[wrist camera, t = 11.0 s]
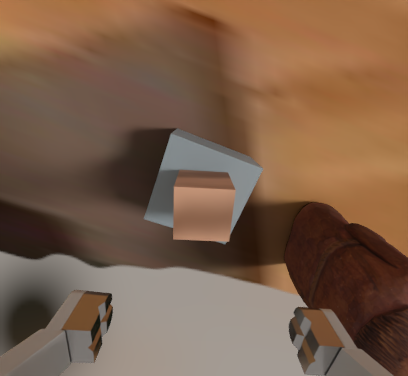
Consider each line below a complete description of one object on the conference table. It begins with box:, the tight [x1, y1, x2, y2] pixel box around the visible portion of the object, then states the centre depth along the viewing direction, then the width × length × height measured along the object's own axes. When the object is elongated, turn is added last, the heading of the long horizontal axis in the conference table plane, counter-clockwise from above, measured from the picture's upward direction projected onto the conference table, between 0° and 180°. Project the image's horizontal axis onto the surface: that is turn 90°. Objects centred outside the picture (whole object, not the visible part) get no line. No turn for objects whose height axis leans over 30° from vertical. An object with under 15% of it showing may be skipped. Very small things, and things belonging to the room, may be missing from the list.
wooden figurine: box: [284, 203, 408, 376], centre depth 23 cm, size 12×6×18 cm, turn 173°
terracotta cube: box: [173, 170, 236, 242], centre depth 20 cm, size 5×5×5 cm
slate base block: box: [144, 129, 263, 244], centre depth 25 cm, size 10×10×6 cm
